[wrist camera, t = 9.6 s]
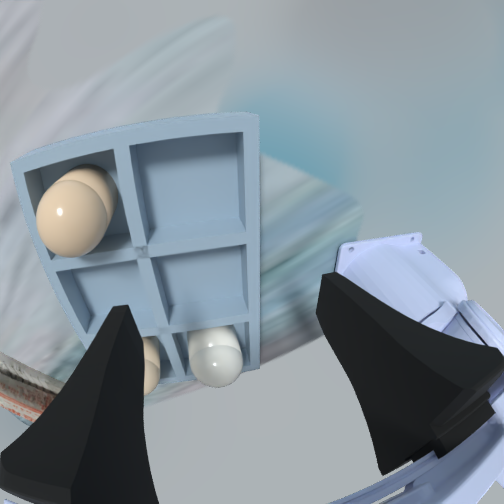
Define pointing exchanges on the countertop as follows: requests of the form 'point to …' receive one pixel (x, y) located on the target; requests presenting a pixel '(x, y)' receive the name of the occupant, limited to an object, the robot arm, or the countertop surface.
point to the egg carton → (163, 231)
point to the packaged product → (25, 388)
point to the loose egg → (77, 211)
